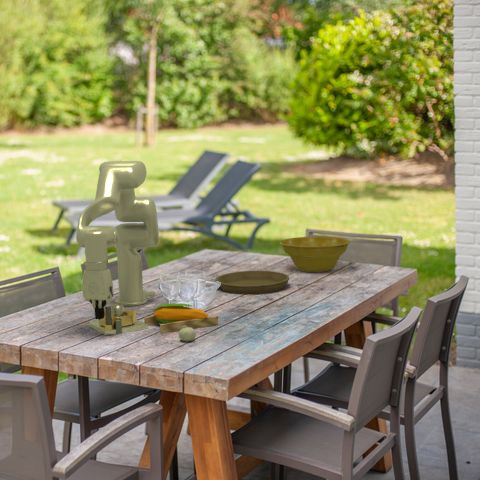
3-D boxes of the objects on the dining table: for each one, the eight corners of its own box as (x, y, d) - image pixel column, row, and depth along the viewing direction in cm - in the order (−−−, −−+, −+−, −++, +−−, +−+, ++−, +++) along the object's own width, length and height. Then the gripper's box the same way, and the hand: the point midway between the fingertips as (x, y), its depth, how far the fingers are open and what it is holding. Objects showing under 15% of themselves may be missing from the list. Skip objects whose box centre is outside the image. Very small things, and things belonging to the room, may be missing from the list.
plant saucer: (249, 299, 383) (249, 287, 382) (200, 288, 406) (200, 277, 405) (304, 287, 403) (304, 276, 402) (255, 278, 426) (254, 267, 425)
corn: (156, 299, 346) (210, 301, 341) (158, 319, 347) (211, 321, 343) (150, 305, 339) (205, 307, 334) (151, 326, 340) (206, 328, 336)
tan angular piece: (105, 318, 347) (104, 296, 346) (139, 318, 345) (138, 296, 344) (90, 330, 329) (89, 307, 328) (126, 330, 328) (125, 307, 326)
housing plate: (130, 320, 351) (129, 298, 350) (148, 329, 337) (148, 306, 335) (88, 326, 343) (87, 304, 342) (105, 335, 329) (104, 312, 328)
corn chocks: (199, 317, 353) (199, 309, 352) (218, 324, 340) (218, 316, 340) (144, 325, 342) (144, 317, 342) (161, 333, 330) (161, 325, 329)
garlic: (175, 341, 319) (174, 326, 318) (184, 338, 323) (184, 322, 322) (190, 343, 316) (189, 328, 315) (199, 340, 320) (198, 324, 319)
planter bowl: (304, 261, 462) (303, 234, 460) (363, 267, 443) (363, 238, 441) (266, 272, 436) (265, 243, 434) (327, 279, 418) (327, 248, 416)
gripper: (72, 266, 327) (75, 319, 331) (109, 269, 321) (112, 323, 324) (85, 262, 334) (88, 314, 337) (121, 265, 327) (124, 317, 331)
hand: (99, 318), depth 330 cm, fingers closed
